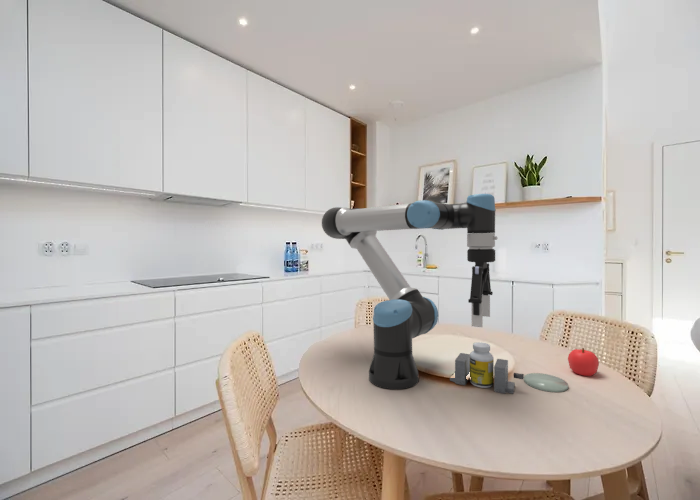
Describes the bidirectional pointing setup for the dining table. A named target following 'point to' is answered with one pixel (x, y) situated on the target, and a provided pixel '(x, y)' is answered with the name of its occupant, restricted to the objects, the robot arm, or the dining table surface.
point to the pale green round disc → (546, 382)
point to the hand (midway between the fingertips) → (481, 321)
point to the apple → (583, 362)
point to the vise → (499, 374)
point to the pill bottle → (481, 365)
